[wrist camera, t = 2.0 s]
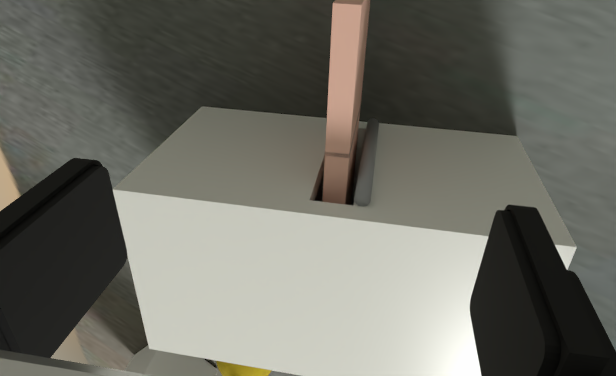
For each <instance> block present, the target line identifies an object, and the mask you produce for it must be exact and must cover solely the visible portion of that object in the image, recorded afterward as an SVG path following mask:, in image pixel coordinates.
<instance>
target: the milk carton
mask: <svg viewBox="0 0 616 376" xmlns="http://www.w3.org/2000/svg"><path fill="white" fill-rule="evenodd" d="M124 371H129V372H135V373H140V374H146V375H152V376H216V374H217V372H218V369H216V368H215V367H214V366H212V365H211V364H210V363H209V362H207V361H206V360H205V359H203V358H198V357H193V356H187V355H181V354H176V353H170V352H164V351H158V350H153V349H149V346H148V345H147V346H146V347H145V348H143V349H142V350H140V351H139V352H138V353H136V354H135V355H134V356H133V357H132V359H131V360H130V362H129V364H128V365H127V367H126V368H125V370H124Z"/></svg>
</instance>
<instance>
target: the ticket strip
mask: <svg viewBox="0 0 616 376" xmlns="http://www.w3.org/2000/svg"><path fill="white" fill-rule="evenodd" d="M369 10H370V0H335V1H334V2H333V10H332V29H331V48H330V67H329V86H328V106H327V125H326V144H325V155H324V156H325V163H324V182H323V201H322V202H329V203H337V204H346V205H351V204H352V193H353V186H354V184H353V182H354V172H355V161H356V150H357V139H358V128H359V118H360V108H361V96H362V85H363V74H364V64H365V53H366V42H367V31H368V20H369Z"/></svg>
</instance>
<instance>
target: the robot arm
mask: <svg viewBox="0 0 616 376" xmlns="http://www.w3.org/2000/svg"><path fill="white" fill-rule="evenodd" d="M126 259H127V249H126V244H125V240H124V236H123V232H122V227H121V223H120V219H119V215H118V211H117V206H116V202H115V198H114V194H113V190H112V185H111V181H110V177H109V173H108V170H107V169H106V168H105V167H103V166H102V164H101V163H100V162H99V161H97V160H89V159H80V158H73V159H71V160H70V161H68V162H67V163H65V164H64V165H63V166H61V167H60V168H59V169H57V170H56V171H55V172H53V173H52V174H50V175H49V176H48V177H46V178H45V179H44V180H42V181H41V182H40V183H38V184H37V185H35V186H34V187H33V188H31V189H30V190H29V191H27V192H26V193H25V194H23V195H22V196H20V197H19V198H18V199H16V200H15V201H14V202H12V203H11V204H10V205H8V206H7V207H6V208H4V209H3V210H1V211H0V376H152V375H146V374H140V373H135V372H129V371H123V370H117V369H111V368H106V367H100V366H94V365H88V364H81V363H75V362H69V361H64V360H57V359H52V358H51V356H52V355H53V354H54V353H55V351H56V350H57V349H58V348H59V346H60V345H61V344H62V342H63V341H64V340H65V339H66V337H67V336H68V335H69V334H70V332H71V331H72V330H73V329H74V327H75V326H76V325H77V324H78V322H79V321H80V320H81V319H82V317H83V316H84V315H85V314H86V312H87V311H88V310H89V308H90V307H91V306H92V305H93V303H94V302H95V301H96V300H97V298H98V297H99V296H100V295H101V293H102V292H103V291H104V290H105V288H106V287H107V286H108V285H109V283H110V282H111V281H112V279H113V278H114V277H115V276H116V274H117V273H118V272H119V271H120V269H121V268H122V267H123V266H124V264H125V262H126ZM470 316H471V322H472V327H473V333H474V338H475V344H476V349H477V354H478V360H479V365H480V371H481V376H616V351H615V349H614V347H613V345H612V343H611V341H610V339H609V337H608V335H607V333H606V331H605V329H604V328H603V326H602V324H601V322H600V320H599V318H598V316H597V314H596V312H595V310H594V308H593V306H592V304H591V302H590V300H589V298H588V296H587V294H586V292H585V290H584V288H583V286H582V284H581V282H580V280H579V278H578V277H577V275H576V274H575V273H574V272H572V271H568V270H567V269H566V267H565V265H564V263H563V261H562V259H561V257H560V255H559V253H558V251H557V249H556V246H555V244H554V242H553V240H552V238H551V236H550V234H549V232H548V230H547V228H546V226H545V224H544V222H543V219H542V217H541V215H540V213H539V211H538V210H537V208H535V207H527V206H518V205H507V206H506V208H505V210H497V211H496V213H495V216H494V219H493V223H492V226H491V230H490V233H489V236H488V240H487V243H486V247H485V250H484V254H483V257H482V261H481V264H480V268H479V271H478V275H477V278H476V281H475V285H474V288H473V292H472V295H471V299H470Z"/></svg>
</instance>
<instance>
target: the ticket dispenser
mask: <svg viewBox="0 0 616 376" xmlns="http://www.w3.org/2000/svg"><path fill="white" fill-rule="evenodd" d="M326 125H327V118H320V117H310V116H299V115H288V114H278V113H267V112H256V111H246V110H235V109H225V108H214V107H203V106H202V107H201V108H200V109H199V110H197V111H196V112H195V113H194V114H193V115H192V116H191V117H190V118H189V119H188V120H187V121H186V122H185V123H183V124H182V125H181V126H180V127H179V128H178V129H177V130H176V131H175V132H174V133H173V134H172V135H170V136H169V137H168V138H167V139H166V140H165V141H164V142H163V143H162V144H161V145H160V146H159V147H158V148H156V149H155V150H154V151H153V152H152V153H151V154H150V155H149V156H148V157H147V158H146V159H145V160H144V161H142V162H141V163H140V164H139V165H138V166H137V167H136V168H135V169H134V170H133V171H132V172H131V173H130V174H128V175H127V176H126V177H125V178H124V179H123V180H122V181H121V182H120V183H119V184H118V185H117V186H116V187H114V188H113V189H112V190H113V194H114V198H115V202H116V206H117V211H118V215H119V219H120V223H121V227H122V232H123V236H124V240H125V244H126V249H127V255H128V259H129V264H130V268H131V272H132V277H133V281H134V285H135V290H136V294H137V298H138V303H139V307H140V311H141V316H142V320H143V324H144V329H145V333H146V337H147V341H148V346H149V349H153V350H158V351H164V352H170V353H176V354H181V355H187V356H193V357H198V358H204V359H210V360H215V361H221V362H227V363H233V364H238V365H244V366H250V367H255V368H261V369H267V370H273V371H278V372H284V373H290V374H295V375H301V376H481V371H480V365H479V360H478V354H477V349H476V344H475V338H474V333H473V327H472V322H471V316H470V299H471V295H472V292H473V288H474V285H475V281H476V278H477V275H478V271H479V268H480V264H481V261H482V257H483V254H484V250H485V247H486V243H487V240H488V236H489V233H490V230H491V226H492V223H493V219H494V216H495V213H496V211H497V210H505V208H506V206H507V205H518V206H527V207H535V208H537V210H538V211H539V213H540V215H541V217H542V219H543V222H544V224H545V226H546V228H547V230H548V232H549V234H550V236H551V238H552V240H553V242H554V244H555V246H556V249H557V251H558V253H559V255H560V257H561V259H562V261H563V263H564V265H565V267H566V269H568V267H569V264H570V262H571V260H572V257H573V255H574V253H575V250H576V248H577V247H576V245H575V243H574V241H573V239H572V237H571V236H570V234H569V232H568V230H567V228H566V226H565V224H564V223H563V221H562V219H561V217H560V215H559V213H558V211H557V209H556V208H555V206H554V204H553V202H552V200H551V198H550V196H549V195H548V193H547V191H546V189H545V187H544V185H543V183H542V182H541V180H540V178H539V176H538V174H537V172H536V170H535V168H534V167H533V165H532V163H531V161H530V159H529V157H528V155H527V154H526V152H525V150H524V148H523V146H522V144H521V142H520V140H519V139H518V137H517V136H512V135H501V134H490V133H480V132H469V131H458V130H448V129H437V128H427V127H416V126H405V125H395V124H384V123H379V121H378V120H377V119H375V118H371V119H369V120H368V122H363V121H359V128H358V139H357V150H356V161H355V172H354V182H353V184H354V186H353V193H352V204H351V205H346V204H337V203H329V202H322V201H323V182H324V163H325V156H324V155H325V144H326Z"/></svg>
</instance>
